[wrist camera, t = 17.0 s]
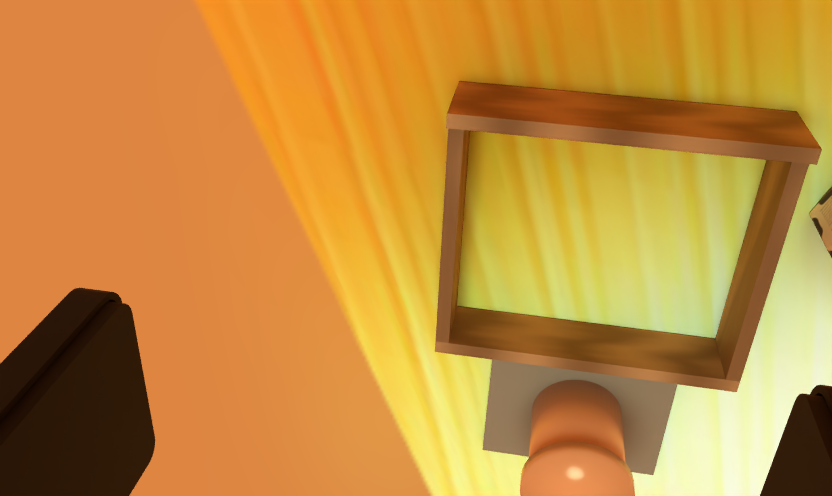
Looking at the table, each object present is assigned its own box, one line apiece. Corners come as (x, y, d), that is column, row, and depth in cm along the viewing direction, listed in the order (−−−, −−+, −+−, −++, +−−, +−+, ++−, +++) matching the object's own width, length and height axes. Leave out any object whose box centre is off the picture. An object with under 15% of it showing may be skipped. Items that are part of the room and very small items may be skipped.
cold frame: (796, 111, 42) (821, 149, 38) (725, 350, 50) (739, 403, 46) (459, 81, 44) (447, 113, 40) (443, 314, 53) (432, 361, 48)
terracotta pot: (636, 382, 52) (644, 463, 46) (618, 457, 56) (624, 541, 50) (531, 368, 53) (526, 445, 47) (521, 443, 56) (514, 524, 50)
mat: (678, 369, 52) (679, 375, 51) (652, 468, 56) (653, 475, 56) (494, 345, 53) (493, 351, 53) (483, 443, 58) (482, 449, 57)
